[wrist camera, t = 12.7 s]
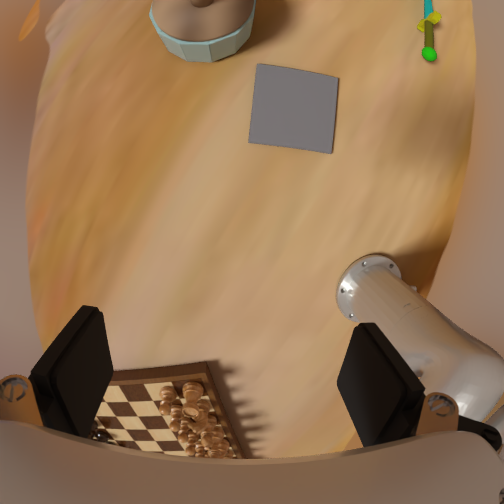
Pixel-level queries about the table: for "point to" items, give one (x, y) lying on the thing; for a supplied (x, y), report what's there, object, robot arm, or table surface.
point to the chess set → (166, 413)
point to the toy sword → (429, 30)
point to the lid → (200, 18)
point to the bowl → (207, 43)
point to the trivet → (293, 109)
